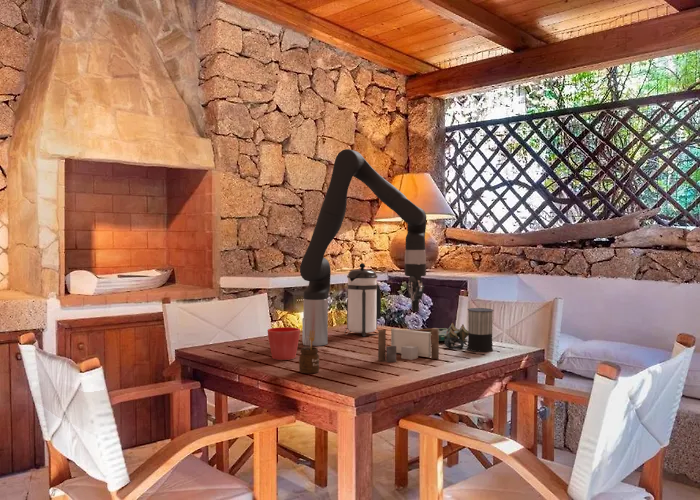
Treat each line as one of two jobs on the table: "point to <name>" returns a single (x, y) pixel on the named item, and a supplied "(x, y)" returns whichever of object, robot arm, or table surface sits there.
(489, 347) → the milk frother
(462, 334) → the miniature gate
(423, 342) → the panel
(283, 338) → the flower pot
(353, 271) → the coffee press
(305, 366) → the jar with wooden spoon
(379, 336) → the gate posts
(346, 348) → the table surface
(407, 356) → the block
